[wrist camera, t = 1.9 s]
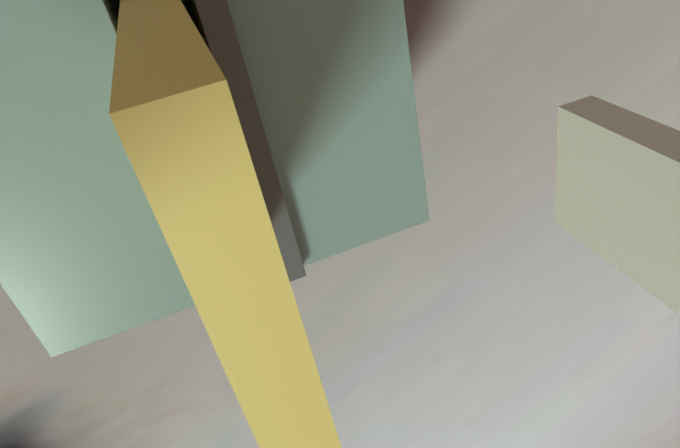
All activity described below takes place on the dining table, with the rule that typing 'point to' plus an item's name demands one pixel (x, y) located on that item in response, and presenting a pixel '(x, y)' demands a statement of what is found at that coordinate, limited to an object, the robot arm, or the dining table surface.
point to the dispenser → (258, 128)
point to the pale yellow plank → (215, 219)
